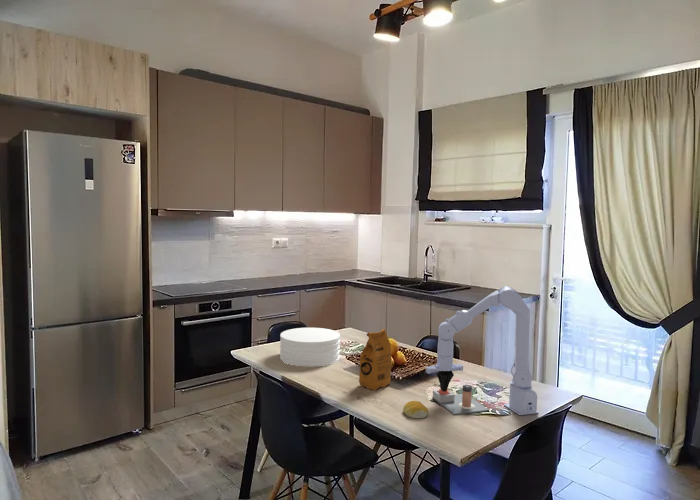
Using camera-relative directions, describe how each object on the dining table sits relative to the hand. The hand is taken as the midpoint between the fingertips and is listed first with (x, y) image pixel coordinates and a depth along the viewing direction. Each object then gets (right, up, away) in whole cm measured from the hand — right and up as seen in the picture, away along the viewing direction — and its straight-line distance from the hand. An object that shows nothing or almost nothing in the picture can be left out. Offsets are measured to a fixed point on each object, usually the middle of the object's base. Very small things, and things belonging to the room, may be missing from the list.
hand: (443, 390), depth 182 cm
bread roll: (-12, -5, -12) cm, 18 cm away
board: (+5, -4, -3) cm, 7 cm away
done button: (0, -3, 0) cm, 3 cm away
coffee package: (-25, -2, +15) cm, 29 cm away
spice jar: (+7, -4, -6) cm, 10 cm away
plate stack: (-54, +1, +50) cm, 73 cm away
